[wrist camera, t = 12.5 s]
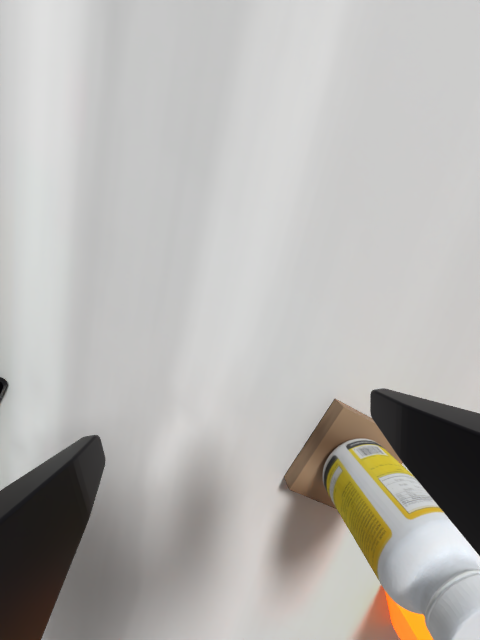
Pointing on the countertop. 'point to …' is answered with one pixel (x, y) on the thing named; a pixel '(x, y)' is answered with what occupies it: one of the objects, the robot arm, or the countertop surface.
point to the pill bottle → (406, 539)
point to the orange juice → (407, 622)
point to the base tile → (330, 449)
